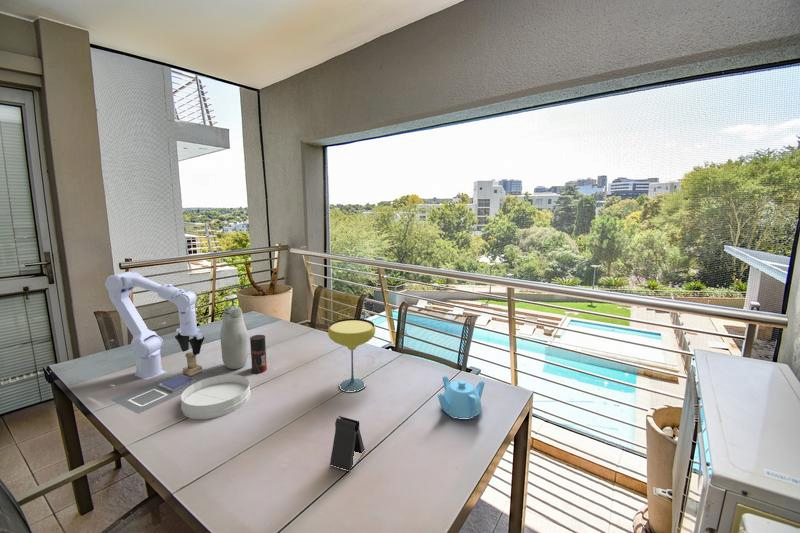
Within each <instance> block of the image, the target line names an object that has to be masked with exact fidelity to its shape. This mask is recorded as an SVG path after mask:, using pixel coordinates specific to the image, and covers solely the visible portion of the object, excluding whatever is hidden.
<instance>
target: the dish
mask: <svg viewBox="0 0 800 533" xmlns="http://www.w3.org/2000/svg"><path fill="white" fill-rule="evenodd" d="M250 398H251V387H250V381H249V379H248V378H247V377H245V376H243V375H240V374H222V375H219V376H214V377H210V378H207V379H204V380H201V381H199V382H196V383H194V384H192V385H191V386H189V387H188V388H187V389H185V390H184V391H183V393H182V394H180V400H181V403H180V409H181V413H182V414H183V415H184V416H185V417H187V418H190V419H194V420H207V419H214V418H219V417H223V416H225V415H228V414H231V413H233V412H235V411H236V410H238V409H240V408H242V407H243V406H245V405H246V404H247V403H248V402H249V399H250Z"/></svg>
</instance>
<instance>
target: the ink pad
mask: <svg viewBox="0 0 800 533" xmlns="http://www.w3.org/2000/svg"><path fill="white" fill-rule="evenodd" d="M194 383H196V379H193V378H190V377H188V376H185V375H180V376H177V377H175V378H173V379H170V380H168V381H165V382H163V383H160V384H159V387H160V388H162V389H164V390H167V391H169V392H172V393H174V392H176V391H178V390H180V389H183V388H185V387H187V386H189V385H192V384H194Z"/></svg>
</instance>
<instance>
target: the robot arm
mask: <svg viewBox="0 0 800 533" xmlns="http://www.w3.org/2000/svg"><path fill="white" fill-rule="evenodd" d="M104 287H105V288H106V290H107V292H108V296H109V300H110V301H111V303H112V305H113V306H114V308H115V309H116V311H117V313H118V314H119V316H120V318H121V319H122V320H123V322H124V324H125V325H126V327H127V328H128V331H129V332H130V333H131V335H132V340H131V342H130V346H131V347H132V353H133V354H134V356H136V357H135V360H134V362H135V363H134V364H135V370H136V371H135V372H136V373H134V375H133V376H136V377H138V378H141V379H144V380H145V381H146V380H150V379H153V378H154V377H158V376H161V375H162V374H165V373H168V371H166V370H164V369H162V366H163V365H162V356H161V348H163V346H164V339H163V338H162V337H160V336H159V335H158V334H157V333H156V331H154V330H151V329H149V328H148V326H147V324H146V323H145V322H144V320H143V318H142V316H141V315H140V313H139V311H138V310H137V308H136V306H135V305H134V303H133V302H132V300H131V298H130V297H129V296H130V294H131V292H132V291H133V290H134V289H135V288H137V287H138V288H141V289H145V290H147V291H150V292H153V293H156V294H157V296H158V297H159V298H161V299H163V300H166V301H168V302H171V303H174V305H175V307H176V308H177V311H178V317H179V328H176V329H175V333H176V335H175V336H174V338H175V340H176V341H177V343H178V345H179V346H180V349H181V351H182V352H183V353H184V352H186V351H189V348H190V347H191V350H192V351H191V352H193V354H194V355H196V356H197V355H200V354H201V353H200V352H201V349H202V345H203V342H204V340H205V336H203V333H202V332H200V330H201V329H200V328H198V326H197V316H196V315H197V313H196V305H195V304H196V303H197V301H198V296H197V293H196V292H194V291H192V290H191V289H190V290H185V289H182V288H178V287H175V286H174V285H173V284H172V283H169V284H167V283H166V284H163V285H162V284H160V283H158V282H156V281H155V280H154V281H153V280H151V279H149V278H147V277H145V276H142V275H141V273H138V272H136V271H133V270H128V271H126V272H121V273H116V274H110V275H108V276H107V278H106V280H105V281H104ZM190 337H191V338H190ZM189 344H190V345H189ZM189 346H190V347H189Z"/></svg>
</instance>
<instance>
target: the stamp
mask: <svg viewBox="0 0 800 533" xmlns="http://www.w3.org/2000/svg"><path fill="white" fill-rule="evenodd" d="M184 356H185V358H186V363H187V366H185V367H182V371H183V375H186V376H188V377H193V376H195V375H197V374H200V373H202V370H203V365H200V364H197V355H194V354H193V351H188V352H186V353H185V355H184Z"/></svg>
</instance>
